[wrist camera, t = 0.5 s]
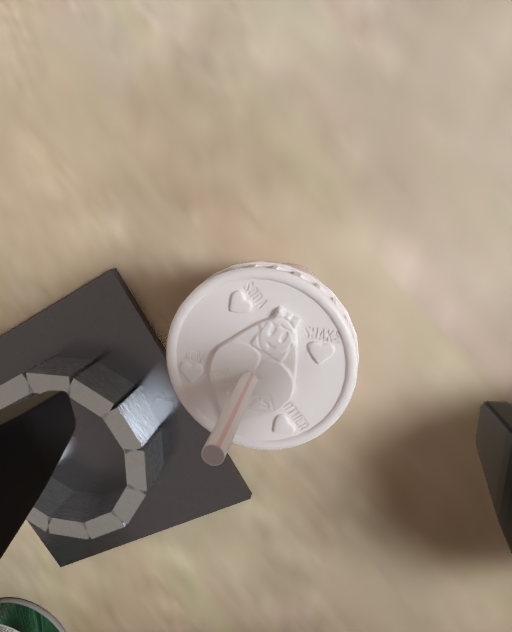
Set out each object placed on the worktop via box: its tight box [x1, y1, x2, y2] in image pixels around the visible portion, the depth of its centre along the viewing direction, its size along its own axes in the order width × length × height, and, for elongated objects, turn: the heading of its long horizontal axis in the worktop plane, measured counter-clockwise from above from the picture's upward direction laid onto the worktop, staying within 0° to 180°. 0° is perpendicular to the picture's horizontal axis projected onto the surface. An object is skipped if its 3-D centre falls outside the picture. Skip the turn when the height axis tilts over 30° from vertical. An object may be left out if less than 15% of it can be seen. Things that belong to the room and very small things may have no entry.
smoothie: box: [166, 261, 359, 466], centre depth 16 cm, size 6×6×14 cm
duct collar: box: [0, 268, 252, 567], centre depth 26 cm, size 16×16×3 cm
